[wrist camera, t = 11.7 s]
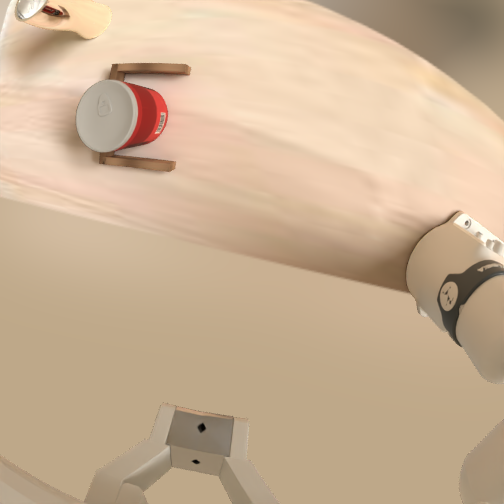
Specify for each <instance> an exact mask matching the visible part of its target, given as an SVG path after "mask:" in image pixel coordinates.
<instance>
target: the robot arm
mask: <svg viewBox="0 0 504 504" xmlns="http://www.w3.org/2000/svg"><path fill="white" fill-rule="evenodd" d="M465 222H466V224H465ZM406 281H407V286H408V289H409V291H410V293H411V294H412V296H413V297H414V298H415V300H416V302H417V310H418V313H419V314H420V315H421V316H423V317H426V316H428V317H429V318H430V319H431V320H432V321H433V322H434V323H435V324H436V326H437V327H438V328H439V329H440V330H441V331H442V332H448V334H449V336H450V337H451V338H452V339H453V340H454V341H455V342H456V344H458V345H459V346H460V347H463V349H464V350H465V352H466V353H467V355H468V356H469V358H470V359H471V361H472V363H473V364H474V366H475V367H476V369H477V370H478V372H479V374H480V375H481V376H482V377H483V378H484V379H485V380H487V381H489V382H491V383H495V384H504V242H502V241H501V240H500V239H499V238H498V237H496V236H495V235H494V234H493V233H491V232H490V231H489V230H487V229H486V228H485V227H483V226H482V225H481V224H479V223H478V222H477V221H475V220H474V219H473V218H471V217H470V216H469V215H467V214H466V213H464V212H463V211H459V212H457V213H456V214H455V215H454V216H453V217H452V218H451V219H450V220H449V221H448V222H447V223H445V224H443V225H440V226H438V227H436V228H434V229H432V230H431V231H430V232H428V233H427V234H426V235H425V236H424V237H423V238H422V239H421V240H420V241H419V242H418V244H417V245H416V247H415V248H414V250H413V252H412V254H411V256H410V259H409V261H408V265H407V271H406ZM248 430H249V420H248V419H244V418H237V417H233V416H226V415H220V414H213V413H207V412H201V411H196V410H192V409H187V408H183V407H179V406H176V405H171V404H167V403H162V405H161V406H160V409H159V412H158V414H157V417H156V420H155V423H154V426H153V429H152V432H151V435H150V438H149V440H148V439H144V440H142V441H141V442H139V443H138V444H137V445H135V446H134V447H132V448H131V449H129V450H128V451H126V452H125V453H123V454H122V455H120V456H118V457H117V458H115V459H114V460H112V461H111V462H109V463H108V464H106V465H104V466H103V467H101V468H100V469H98V470H97V471H96V473H95V475H94V478H93V480H92V483H91V485H90V488H89V490H88V493H87V496H86V498H85V501H84V502H83V501H81V500H79V499H76V498H74V497H72V496H70V495H68V494H66V493H64V492H62V491H60V490H58V489H56V488H54V487H52V486H50V485H48V484H47V483H45V482H43V481H41V480H39V479H37V478H36V477H34V476H32V475H31V474H29V473H27V472H26V471H24V470H22V469H21V468H19V467H18V466H16V465H15V464H13V463H12V462H10V461H9V460H7V459H5V458H4V457H3V456H1V455H0V504H148V503H147V501H146V498H145V496H144V493H143V492H144V491H145V490H146V489H148V488H149V487H150V486H151V485H153V484H154V483H155V482H156V481H157V480H158V479H160V478H161V477H162V476H163V475H164V474H165V473H166V472H168V471H169V470H170V469H171V467H176V468H180V469H185V470H191V471H196V472H200V473H205V474H210V475H216V476H219V478H220V480H221V482H222V484H223V486H224V488H225V490H226V492H227V494H228V496H229V498H230V500H231V502H232V504H280V503H279V501H278V500H277V499H276V497H275V496H274V494H273V493H272V491H271V490H270V489H269V487H268V486H267V484H266V483H265V481H264V480H263V478H262V477H261V475H260V474H259V472H258V471H257V469H256V468H255V466H254V464H253V463H252V461H251V460H247V459H246V456H247V444H248ZM459 491H460V496H461V500H462V502H463V504H504V419H503V420H502V421H501V422H500V423H499V424H497V425H496V426H495V428H494V429H493V430H492V431H491V432H490V433H489V434H488V435H487V436H486V437H485V438H484V439H483V440H482V441H481V442H480V443H479V444H478V445H477V446H476V447H475V448H474V449H473V450H472V451H471V452H470V453H469V454H468V455H467V456H466V458H465V460H464V463H463V465H462V469H461V473H460V479H459Z"/></svg>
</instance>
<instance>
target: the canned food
mask: <svg viewBox="0 0 504 504" xmlns="http://www.w3.org/2000/svg"><path fill="white" fill-rule="evenodd" d="M167 118H168V110H167V106H166V103H165V101H164V99H163V98H162V96H161V95H160V94H159V93H158V92H156V91H155V90H153V89H149V88H146V87H142V86H138V85H135V84H131V83H127V82H123V81H118V80H103V81H100V82H98V83H95V84H94V85H92V86H91V87H90V88H89V89H88V90H87V91H86V92H85V93H84V95H83V96H82V98H81V100H80V102H79V104H78V108H77V111H76V128H77V132H78V134H79V137H80V139H81V140H82V142H83V143H84V144H85V145H86V146H87V147H88V148H90V149H91V150H94V151H96V152H112V151H117V150H121V149H126V148H130V147H135V146H140V145H145V144H148V143H150V142H152V141H154V140H155V139H156V138H157V137H159V135H160V134H161V133H162V131H163V130H164V128H165V126H166V123H167Z"/></svg>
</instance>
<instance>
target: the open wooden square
mask: <svg viewBox="0 0 504 504" xmlns="http://www.w3.org/2000/svg"><path fill="white" fill-rule="evenodd" d="M190 70H191V67H189V66H188V65H186V64H167V63H127V64H112V68H111V73H110V79H109V80H118V81H123V82H124V78H125V73H165V74H185V75H190ZM114 152H115V151H112V152H100V162H99V164H108V165H117V166H126V167H135V168H144V169H152V170H159V171H167V172H170V171H172V170H174V169H175V164H176V162H174V161H166V160H158V159H149V158H140V157H131V156H120V155H114Z"/></svg>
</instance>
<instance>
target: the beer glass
mask: <svg viewBox="0 0 504 504" xmlns="http://www.w3.org/2000/svg"><path fill="white" fill-rule="evenodd" d="M15 17H16V19H17V20H18V21H21V22H24V23H27V24H29V25H32V26H35V27H38V28H42V29H47V30H57V31H72V32H75V33H77V34H78V35H79V36H81V37H82V38H85V39H93V38H95V37H97V36H99V35H101V34H102V33H103V32H104V31H105V30H106V29H107V27H108V26H109V24H110V22H111V19H112V11H111V9H110V8H109V7H108V6H106V5H104V4H99V3H96V2H94V1H93V0H18V1H17V4H16V7H15Z"/></svg>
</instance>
